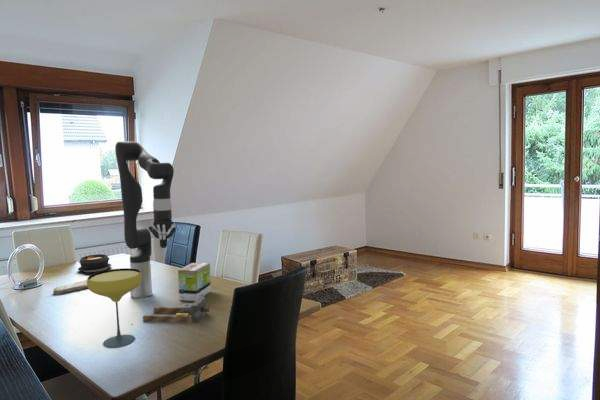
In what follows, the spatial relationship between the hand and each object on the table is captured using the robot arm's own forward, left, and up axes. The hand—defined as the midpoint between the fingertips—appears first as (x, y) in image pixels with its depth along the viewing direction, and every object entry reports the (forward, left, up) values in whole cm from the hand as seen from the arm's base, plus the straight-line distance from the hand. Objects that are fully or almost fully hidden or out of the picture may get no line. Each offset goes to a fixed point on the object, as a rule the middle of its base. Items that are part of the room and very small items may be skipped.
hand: (163, 247), depth 186 cm
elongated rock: (-57, +31, -28) cm, 71 cm away
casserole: (-74, +64, -28) cm, 102 cm away
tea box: (+7, +17, -28) cm, 33 cm away
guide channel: (+10, -11, -27) cm, 31 cm away
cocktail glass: (-3, -35, -28) cm, 45 cm away
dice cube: (+14, -10, -28) cm, 32 cm away
